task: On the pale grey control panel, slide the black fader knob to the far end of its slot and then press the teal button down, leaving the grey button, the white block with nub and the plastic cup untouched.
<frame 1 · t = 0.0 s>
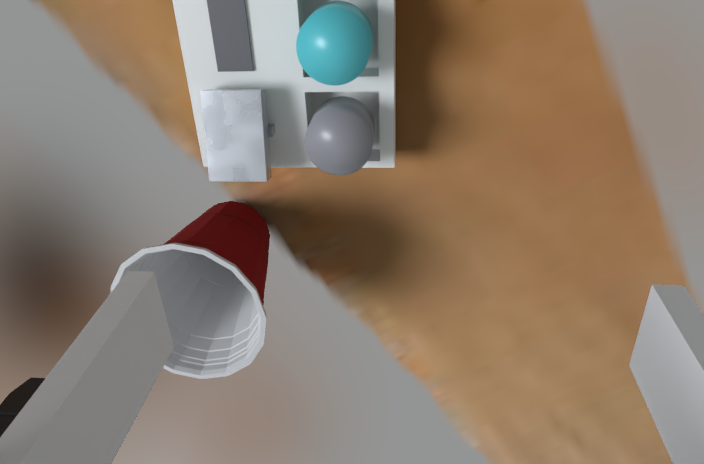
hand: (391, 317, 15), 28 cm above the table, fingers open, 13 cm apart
teal button: (336, 42, 35), point 4 cm above the table, slide at 0.0 cm
grey button: (340, 135, 38), point 4 cm above the table, slide at 0.0 cm
white block with nub: (237, 135, 38), point 5 cm above the table, hinge at -12.0°
plastic cup: (235, 227, 48), on the table
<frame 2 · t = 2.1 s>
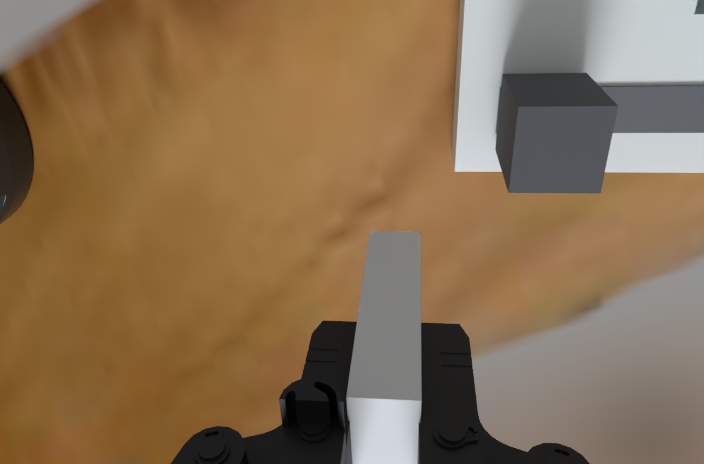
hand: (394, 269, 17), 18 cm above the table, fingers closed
panel: (674, 23, 29), on the table
slider knob: (549, 130, 27), point 6 cm above the table, slide at 0.0 cm
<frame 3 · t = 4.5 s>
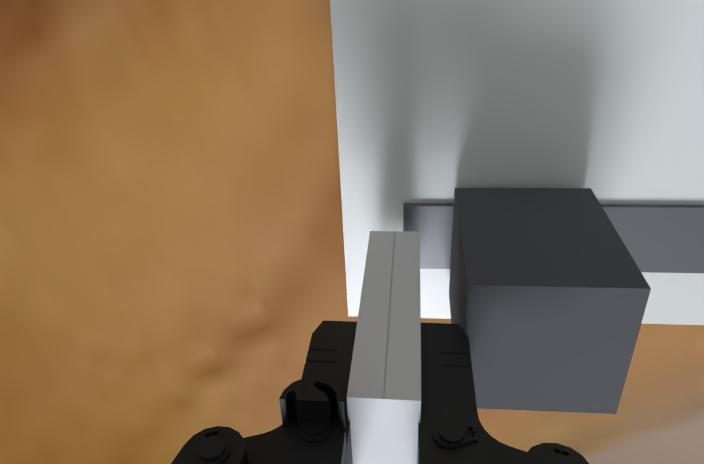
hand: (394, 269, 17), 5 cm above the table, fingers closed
panel: (678, 100, 19), on the table
slider knob: (528, 291, 16), point 6 cm above the table, slide at 1.6 cm, touching gripper
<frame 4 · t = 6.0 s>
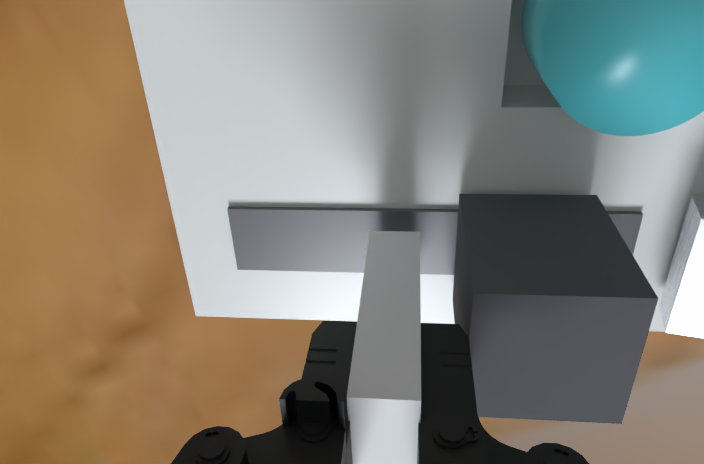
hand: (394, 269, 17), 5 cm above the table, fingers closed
teal button: (627, 24, 13), point 4 cm above the table, slide at 0.0 cm
panel: (502, 107, 19), on the table
slider knob: (533, 299, 16), point 6 cm above the table, slide at 7.4 cm, touching gripper
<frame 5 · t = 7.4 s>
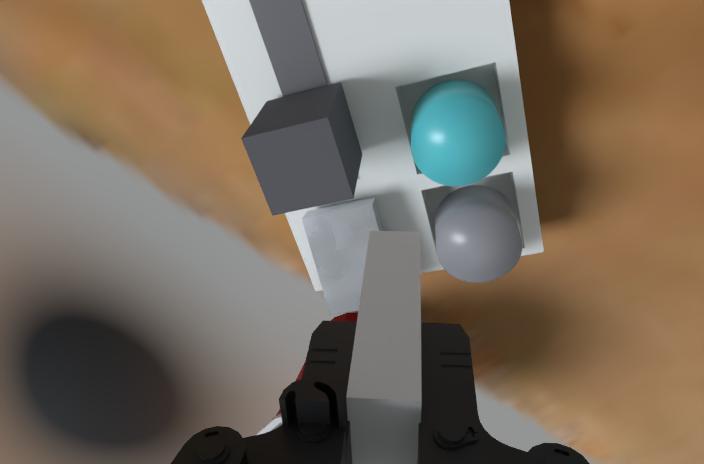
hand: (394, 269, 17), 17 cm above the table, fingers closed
teal button: (455, 132, 28), point 4 cm above the table, slide at 0.0 cm
panel: (381, 83, 32), on the table
slider knob: (307, 147, 28), point 6 cm above the table, slide at 7.4 cm
grey button: (476, 233, 31), point 4 cm above the table, slide at 0.0 cm
white block with nub: (352, 257, 32), point 5 cm above the table, hinge at -12.0°
plastic cup: (357, 337, 42), on the table
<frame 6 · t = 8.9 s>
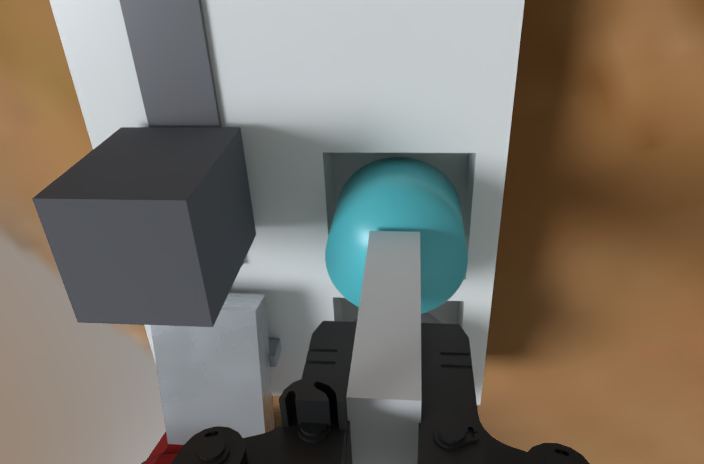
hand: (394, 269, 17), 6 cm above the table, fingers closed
teal button: (397, 236, 19), point 4 cm above the table, slide at 0.4 cm, touching gripper
panel: (308, 133, 22), on the table
slider knob: (163, 219, 17), point 6 cm above the table, slide at 7.4 cm
grey button: (396, 375, 22), point 5 cm above the table, slide at 0.0 cm
white block with nub: (215, 370, 22), point 5 cm above the table, hinge at -12.0°
plastic cup: (219, 436, 32), on the table
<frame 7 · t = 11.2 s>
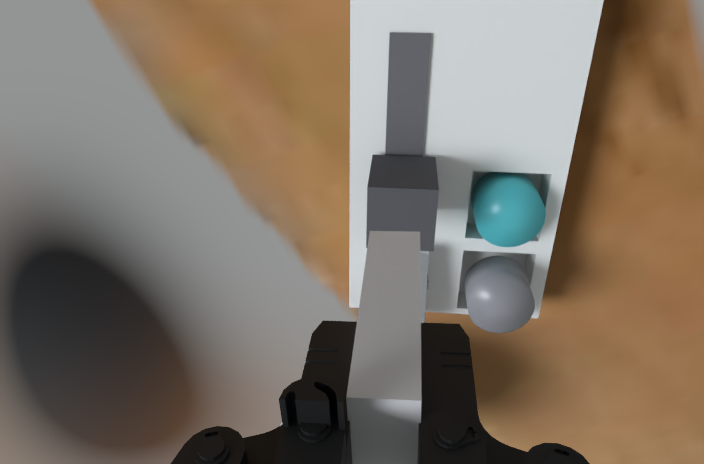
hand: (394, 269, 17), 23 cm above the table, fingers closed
teal button: (506, 207, 38), point 3 cm above the table, slide at 1.5 cm
panel: (453, 160, 40), on the table
slider knob: (401, 201, 35), point 6 cm above the table, slide at 7.4 cm
grey button: (498, 294, 40), point 4 cm above the table, slide at 0.0 cm
white block with nub: (396, 289, 40), point 5 cm above the table, hinge at -12.0°
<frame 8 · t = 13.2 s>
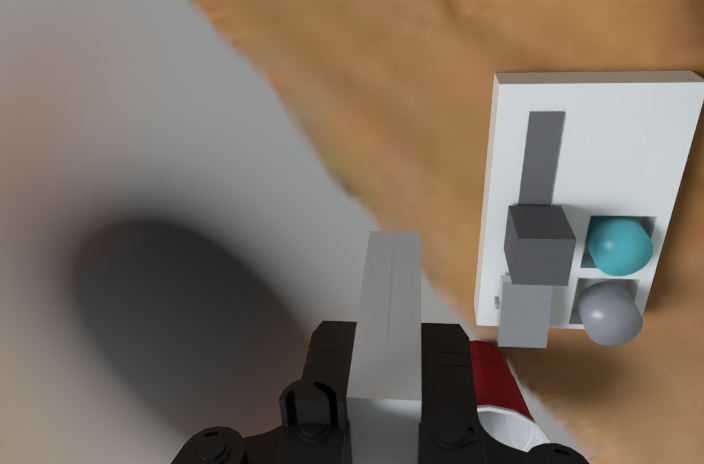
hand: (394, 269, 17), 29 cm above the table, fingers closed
teal button: (617, 243, 46), point 3 cm above the table, slide at 1.5 cm
panel: (567, 203, 48), on the table
slider knob: (537, 244, 43), point 6 cm above the table, slide at 7.4 cm
grey button: (608, 313, 48), point 4 cm above the table, slide at 0.0 cm
white block with nub: (523, 311, 48), point 5 cm above the table, hinge at -12.0°
plastic cup: (473, 358, 58), on the table
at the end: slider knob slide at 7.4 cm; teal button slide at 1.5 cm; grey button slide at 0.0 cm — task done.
